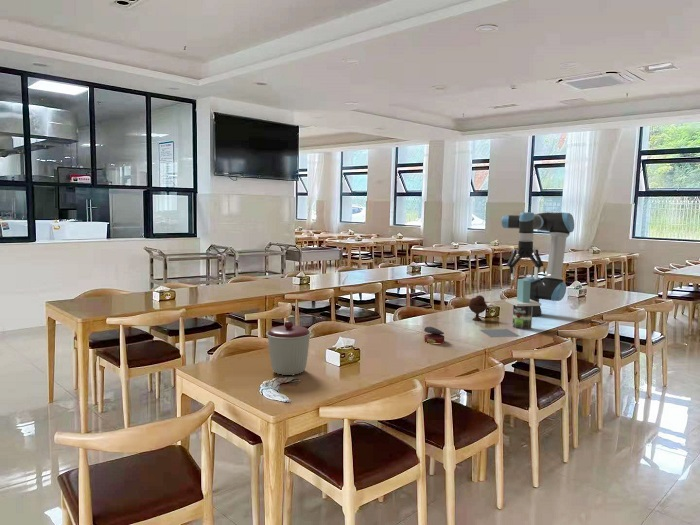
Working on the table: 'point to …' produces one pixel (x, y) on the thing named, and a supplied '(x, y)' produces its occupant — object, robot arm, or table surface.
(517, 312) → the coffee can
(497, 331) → the mat
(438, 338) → the canned food
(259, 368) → the table surface
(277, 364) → the canister
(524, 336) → the table surface
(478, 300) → the ice cream bowl
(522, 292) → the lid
